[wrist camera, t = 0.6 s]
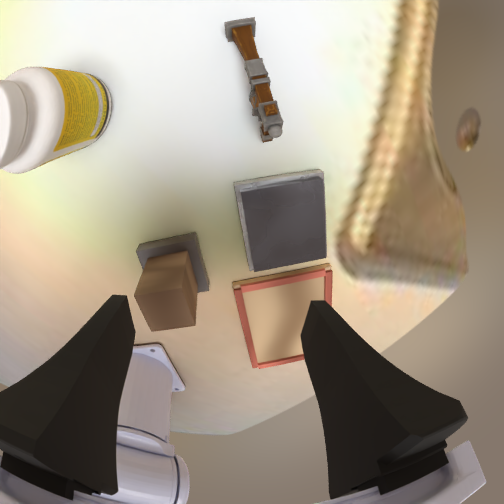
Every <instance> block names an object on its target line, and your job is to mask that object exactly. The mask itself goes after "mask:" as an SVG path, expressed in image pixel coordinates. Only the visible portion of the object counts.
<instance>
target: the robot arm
mask: <svg viewBox="0 0 504 504" xmlns="http://www.w3.org/2000/svg"><path fill="white" fill-rule="evenodd" d="M300 337H301V343H302V349H303V354H304V359H305V362H306V365H307V368H308V372H309V375H310V378H311V381H312V384H313V387H314V391H315V394H316V397H317V400H318V403H319V408H320V412H321V417H322V423H323V429H324V436H325V443H326V452H327V462H328V477H329V494H330V499H331V500H328V501H323V502H319V503H314V504H460V503H461V502H463V501H464V500H465V499H467V498H468V497H469V496H470V495H472V494H473V493H474V492H475V491H477V490H478V489H479V488H480V487H482V486H483V485H484V484H485V483H486V480H485V477H484V475H483V472H482V469H481V467H480V465H479V462H478V460H477V457H476V455H475V452H474V450H473V448H472V446H471V443H470V441H468V440H467V441H466V442H464V443H463V444H461V445H459V446H458V447H456V448H454V449H452V450H451V451H449V452H447V453H446V454H445V451H444V448H446V447H447V443H446V441H445V439H446V438H448V437H449V436H450V435H452V434H453V433H454V432H455V431H457V430H458V429H459V428H460V427H461V426H462V425H463V424H464V423H465V422H466V421H467V419H468V416H467V415H466V413H465V411H464V409H463V406H462V405H461V403H460V401H459V400H456V399H454V398H452V397H449V396H447V395H444V394H442V393H439V392H437V391H435V390H433V389H431V388H429V387H428V386H426V385H424V384H422V383H420V382H418V381H417V380H415V379H414V378H412V377H410V376H409V375H407V374H406V373H404V372H403V371H401V370H400V369H398V368H397V367H395V366H394V365H393V364H392V363H390V362H389V361H387V360H386V359H385V358H384V357H383V356H381V355H380V354H379V353H378V352H377V351H376V350H374V349H373V348H372V347H371V346H370V345H369V344H368V343H367V342H366V341H365V340H364V339H362V338H361V337H360V336H359V335H358V334H357V333H356V332H355V331H354V330H353V329H352V328H351V327H350V326H349V325H348V324H347V322H346V321H345V320H344V319H343V318H342V317H341V316H340V315H339V314H338V313H337V312H336V311H335V310H334V309H333V308H332V307H331V306H330V305H329V304H328V303H327V302H326V301H325V300H311V302H310V305H309V309H308V312H307V315H306V319H305V322H304V325H303V328H302V332H301V335H300ZM134 339H135V328H134V324H133V320H132V316H131V312H130V308H129V303H128V299H127V296H125V295H112V296H111V297H110V298H109V299H108V300H107V301H106V302H105V303H104V304H103V305H102V307H101V308H100V309H99V310H98V311H97V312H96V313H95V314H94V315H93V316H92V318H91V319H90V320H89V321H88V322H87V323H86V324H85V325H84V326H83V327H82V328H81V329H80V330H79V332H78V333H77V334H76V335H75V336H74V337H73V338H72V339H71V340H70V341H69V342H68V343H67V344H66V345H65V346H64V347H62V348H61V349H60V350H59V351H58V352H57V353H56V354H55V355H54V356H52V357H51V358H50V359H49V360H48V361H46V362H45V363H44V364H43V365H41V366H40V367H39V368H37V369H36V370H34V371H33V372H32V373H30V374H29V375H28V376H26V377H25V378H23V379H22V380H20V381H19V382H17V383H15V384H14V385H12V386H10V387H9V388H7V389H5V390H3V391H1V392H0V449H1V450H2V451H3V456H2V457H1V456H0V504H186V502H187V499H188V495H189V487H190V480H189V472H188V468H187V465H186V464H185V462H184V461H183V459H182V458H181V457H180V456H179V455H176V454H174V451H175V446H174V445H171V444H169V431H170V412H171V397H172V392H177V391H184V390H185V385H184V384H183V382H182V380H181V379H180V377H179V375H178V373H177V372H176V370H175V368H174V367H173V365H172V363H171V361H170V359H169V358H168V356H167V354H166V352H165V350H164V349H163V347H162V346H161V345H159V344H152V345H143V346H134Z"/></svg>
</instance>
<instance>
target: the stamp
mask: <svg viewBox="0 0 504 504" xmlns="http://www.w3.org/2000/svg"><path fill="white" fill-rule="evenodd" d="M136 253H137V255H138V258H139V260H140V263H141V266H142V268H143V272H142V275H141V278H140V280H139V283H138V286H137V289H136V291H135V294H134V297H135V299H136V301H137V303H138V305H139V307H140V310H141V312H142V314H143V316H144V318H145V320H146V322H147V324H148V326H149V328H150V330H151V331H152V332H153V331H161V330H168V329H175V328H183V327H189V326H195V324H196V306H197V293H198V292H204V291H209V279H208V276H207V272H206V269H205V265H204V261H203V258H202V254H201V250H200V247H199V243H198V239H197V235H196V232H195V233H190V234H186V235H181V236H176V237H171V238H166V239H161V240H157V241H152V242H147V243H143V244H140V245H139V247H138V249H137V251H136Z"/></svg>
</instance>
